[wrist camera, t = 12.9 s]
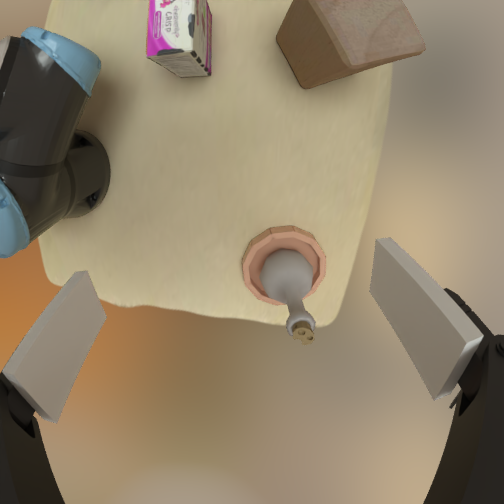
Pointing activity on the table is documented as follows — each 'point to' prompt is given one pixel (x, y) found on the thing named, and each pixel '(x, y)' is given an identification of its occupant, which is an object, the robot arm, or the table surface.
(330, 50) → the wooden block
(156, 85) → the table surface
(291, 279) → the potion bottle
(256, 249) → the saucer
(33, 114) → the robot arm
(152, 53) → the candy bar box
